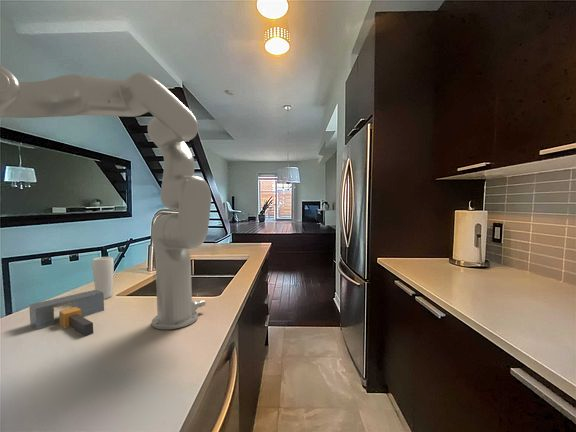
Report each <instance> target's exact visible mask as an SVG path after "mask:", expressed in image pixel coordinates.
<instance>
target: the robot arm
mask: <svg viewBox="0 0 576 432" xmlns="http://www.w3.org/2000/svg"><path fill="white" fill-rule="evenodd" d="M147 113H149V114H151V115H152V116H153V118H151V120H149V122H148V123H147V124H148V125H147V133H148V136H149V138H150V140H151V142H153V143H154V144H155V146H156V147H157V148H158V149H159V151H160V152H161V154H162V156H163V173H162V182H161V189H160V200H161V203H162V204H163V206H164V207H166V208H168V209H169V210H177V211H178V213H170V214H164V215H161V216H159V217H157V219H156V220H155V221H154V222H153V223H152V226H151V229H150V232H151V234H150V236H151V240H152V241H151V242H152V246H153V250H154V256H155V257H154V258H155V283H156V285H155V286H156V307H157V308H156V311H157V315H156V316H154V317H153V318H152V320H151V326H152V327H153V328H155V329H157V330H175V329H180V328H184V327H187V326H189V325H191V324H193V323H195V322H196V321H197V320H198V317H199V313H198V312H197V310H198V309H199V308H202V307H204V306H206V301H205V299H202V300H199V301H197V300H193V297H192V296H193V295H192V265H191V264H192V263H191V262H192V261H191V260H192V259H191V256H190V252H189V250H193V249H196V248H199V247H200V246H201V245H202V244H204V242H205V241H206V238H207V236H208V232H209V225H210V216H211V206H212V192H211V189H210V185H209V184H208V183H207V181H206V180H205V179H203V178H202V177H201V176H199V175H198V176H197V175H195V158H194V155H193V153H192V151H191V149H190V147H189V146H188V145H187V143H186V142H189V141H191V140H193V139H194V138H195V137H196V136H197V134H198V131H199V124H198V121H197V118H196V116H195V115H194V113H193V112H192V111H191V110H190V109H189V108H188V107H187V106H186V105H185V104H183V102H182V101H180V100H179V98H178V97H176V96H175V95H174V94H173V93H172V92H171V91H170V90H169V89H168V88H167V87H165V85H163V84H162V83H161V82H159V80H157V79H156V78H154V77H153V76H151V75H149V74H147V73H144V72H136V73H133V74H131V75H130V76H128V77H127V78H124V79H114V78H107V77H98V76H89V75H84V74H83V75H82V74H76V73H74V74H73V73H71V74H65V75H59V76H56V77H51V78H48V79H45V80H36V81H19V80H18V79H17V77H16V76H15V75H14V74H13V73H12V72H11V71H10V70H8V68H6V67H3V66H2V65H0V118H10V119H11V118H17V119H18V118H19V119H20V118H23V119H29V118H30V119H31V118H33V119H35V118H36V119H37V118H38V119H39V118H56V117H60V118H61V117H75V116H78V117H79V116H96V117H97V116H98V117H100V116H102V117H104V116H105V117H125V118H126V117H128V118H129V117H133V118H135V117H139V116H142V115H145V114H147Z"/></svg>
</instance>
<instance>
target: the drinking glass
mask: <svg viewBox="0 0 576 432" xmlns="http://www.w3.org/2000/svg"><path fill="white" fill-rule="evenodd" d="M114 261H115V260H114V257H113V256H100V257H99V256H98V257H94V258H92V261H91V265H92V267H91V268H92V275H93V276H92V277H93V282H94V290H98V291H101V292H103V295H104V300H106V299H110V298H112V297H113V294H114V290H113V289H114V288H113V287H114V273H115V272H114V271H115V270H114V269H115V262H114Z"/></svg>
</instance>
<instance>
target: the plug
mask: <svg viewBox="0 0 576 432" xmlns="http://www.w3.org/2000/svg"><path fill="white" fill-rule="evenodd" d="M58 315H59V325H60V326H61V327H63V328H65V329H67V328H71V329H73V330H74V331H75V332H77V333H78V334H80V335H81V336H84V337H88V336H91V335H93V334H94V322H92V321H90V320H89V319H87V318H85V316H83V317H82V314H81V309H79V308H77V307H73V308H72V307H69V308H66V309H63V310H59V314H58Z"/></svg>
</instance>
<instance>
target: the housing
mask: <svg viewBox="0 0 576 432" xmlns="http://www.w3.org/2000/svg"><path fill="white" fill-rule="evenodd" d="M104 300H105V299H104V295H103V292H101V291H98V290H95V289H93V290H89V291H84V292H79V293H75V294H71V295H66V296H61V297H57V298H53V299H48V300H44V301H40V302H36V303H35V302H34V303H31V304H29V305H28V306H29V320H30V321H29V322H30V326H31V327H32V328H33V329H35V330H36V331H37V330H40V329H44V328H48V327H51V326H55V311H54V309H55V308H58V307H61V306H66V305H70V304H71V307H70V308H73V307H77V308H79V309H81V314H82V317H85V316H89V315H93V314H96V313H99V312H100V313H101V312H103V311H105V301H104Z"/></svg>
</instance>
